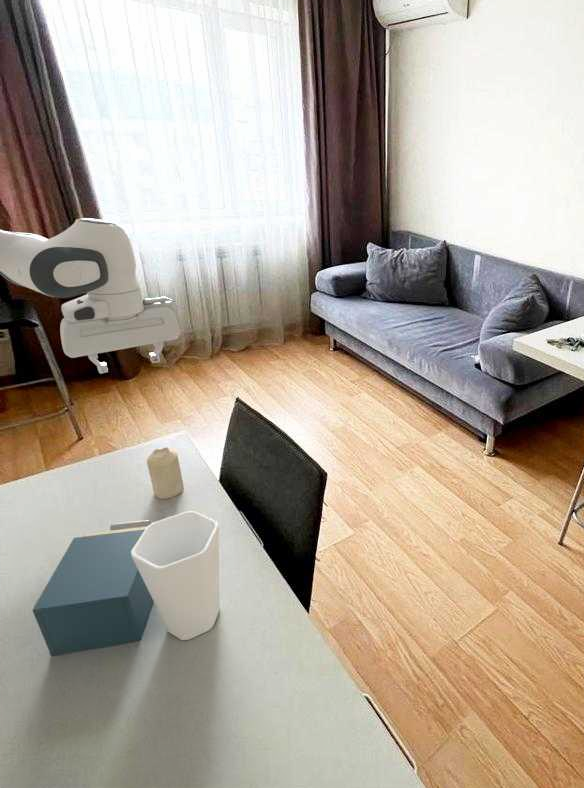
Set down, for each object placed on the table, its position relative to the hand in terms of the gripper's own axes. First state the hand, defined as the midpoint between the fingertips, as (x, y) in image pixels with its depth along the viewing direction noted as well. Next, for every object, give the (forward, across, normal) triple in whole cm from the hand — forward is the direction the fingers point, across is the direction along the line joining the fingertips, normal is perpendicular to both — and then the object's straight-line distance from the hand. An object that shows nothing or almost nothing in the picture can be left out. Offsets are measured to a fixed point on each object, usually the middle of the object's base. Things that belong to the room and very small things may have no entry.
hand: (130, 366), depth 103 cm
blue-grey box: (+25, +14, +37) cm, 47 cm away
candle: (+25, 0, +12) cm, 28 cm away
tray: (+24, +12, +33) cm, 43 cm away
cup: (+26, +5, +47) cm, 54 cm away
